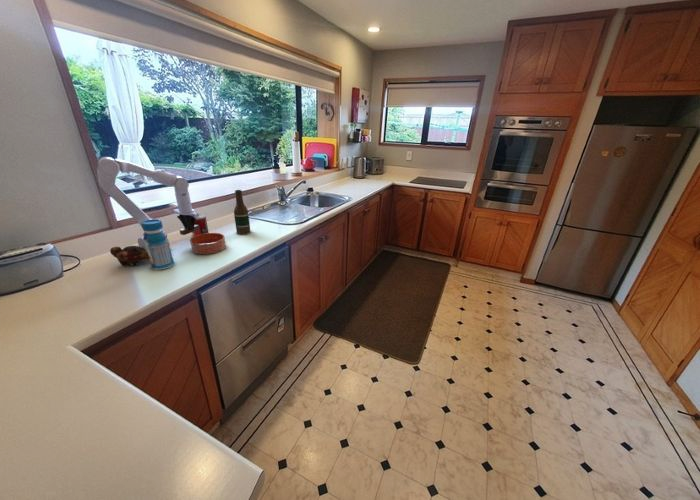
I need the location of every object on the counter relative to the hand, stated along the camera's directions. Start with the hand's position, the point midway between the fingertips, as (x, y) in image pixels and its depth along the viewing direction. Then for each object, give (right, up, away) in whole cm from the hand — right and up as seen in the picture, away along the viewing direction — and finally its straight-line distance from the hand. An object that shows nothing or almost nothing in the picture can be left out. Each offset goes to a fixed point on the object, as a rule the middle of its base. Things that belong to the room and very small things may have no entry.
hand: (189, 229), depth 139 cm
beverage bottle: (-1, -17, -19) cm, 25 cm away
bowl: (+10, -10, -1) cm, 14 cm away
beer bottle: (+19, 0, +21) cm, 28 cm away
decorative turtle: (-14, -16, -17) cm, 27 cm away
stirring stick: (0, -1, +1) cm, 1 cm away
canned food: (-2, -3, +14) cm, 14 cm away
